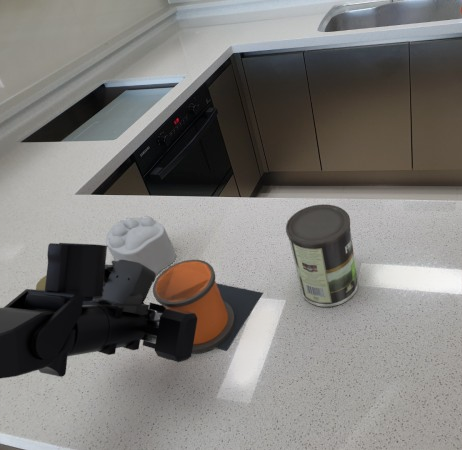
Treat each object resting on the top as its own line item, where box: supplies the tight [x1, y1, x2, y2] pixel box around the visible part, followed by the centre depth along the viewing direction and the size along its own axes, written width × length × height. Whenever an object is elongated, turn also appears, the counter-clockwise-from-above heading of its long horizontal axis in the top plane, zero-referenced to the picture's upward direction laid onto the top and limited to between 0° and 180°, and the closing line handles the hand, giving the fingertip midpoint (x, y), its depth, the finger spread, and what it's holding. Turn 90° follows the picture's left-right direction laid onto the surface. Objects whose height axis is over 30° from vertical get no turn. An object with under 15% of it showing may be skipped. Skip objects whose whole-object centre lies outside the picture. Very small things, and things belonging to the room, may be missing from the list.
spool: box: [152, 259, 235, 354], centre depth 75 cm, size 11×11×11 cm
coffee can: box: [285, 204, 359, 308], centre depth 77 cm, size 10×10×14 cm
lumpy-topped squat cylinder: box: [105, 215, 177, 275], centre depth 94 cm, size 10×13×9 cm
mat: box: [214, 282, 264, 351], centre depth 81 cm, size 13×13×1 cm
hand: (174, 319), depth 71 cm, fingers closed, pressing on spool
